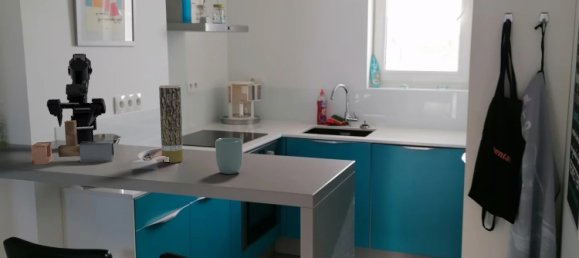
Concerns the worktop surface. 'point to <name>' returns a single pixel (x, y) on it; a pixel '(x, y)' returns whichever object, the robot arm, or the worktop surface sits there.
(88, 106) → the robot arm
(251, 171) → the worktop surface
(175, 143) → the speckled tall cylinder
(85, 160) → the sleeve
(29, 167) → the worktop surface
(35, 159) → the light brown block
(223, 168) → the cup
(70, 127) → the wooden l-shaped block
